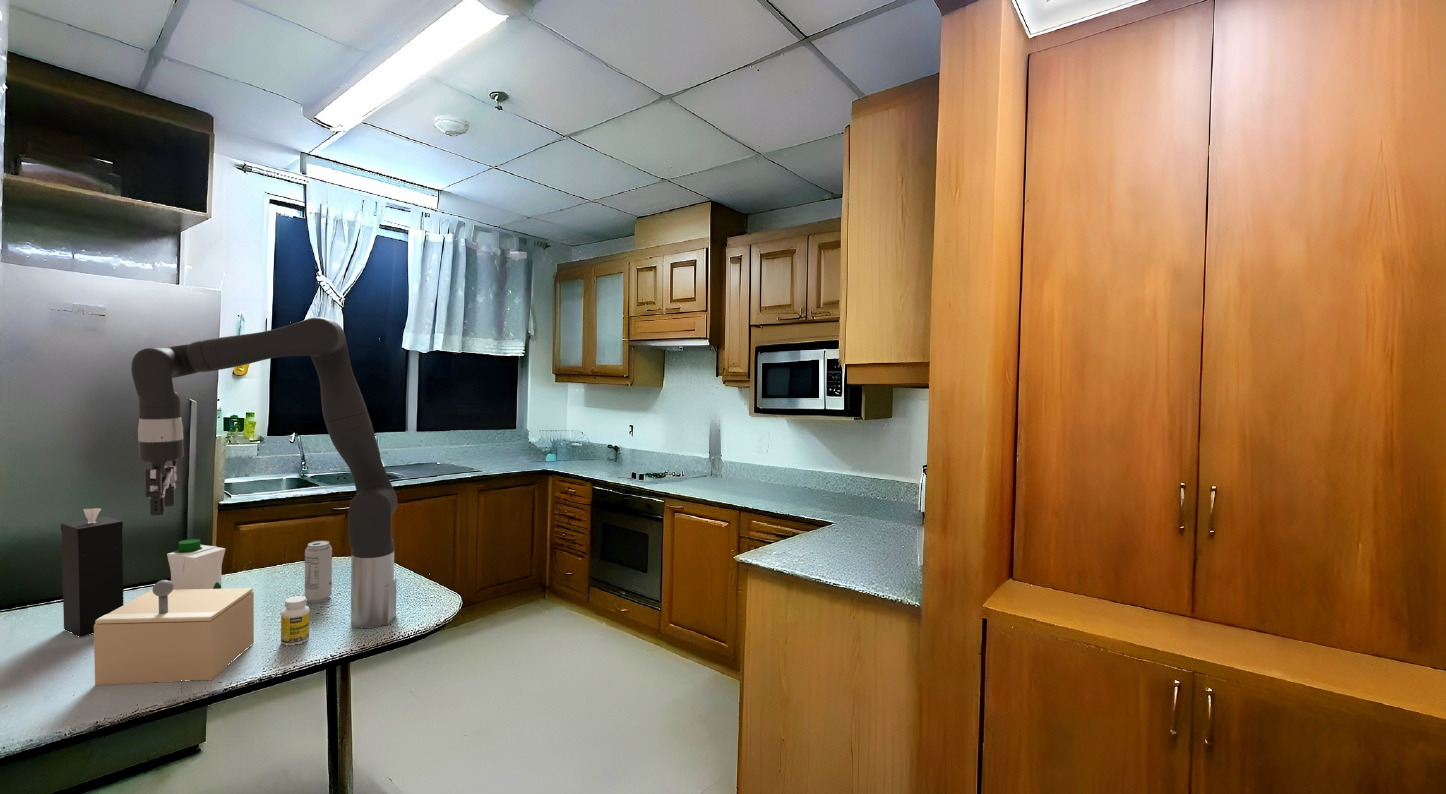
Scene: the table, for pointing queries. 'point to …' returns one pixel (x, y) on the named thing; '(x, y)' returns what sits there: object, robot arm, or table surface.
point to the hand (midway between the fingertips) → (163, 510)
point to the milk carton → (196, 565)
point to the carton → (172, 647)
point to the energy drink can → (318, 571)
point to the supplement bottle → (295, 621)
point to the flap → (175, 605)
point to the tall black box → (91, 570)
